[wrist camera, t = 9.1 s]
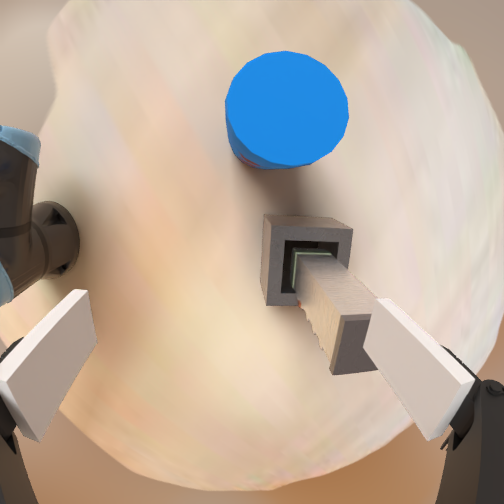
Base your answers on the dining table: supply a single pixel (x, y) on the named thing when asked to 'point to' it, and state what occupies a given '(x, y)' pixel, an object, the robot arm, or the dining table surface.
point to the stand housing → (301, 229)
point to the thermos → (285, 111)
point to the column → (334, 308)
